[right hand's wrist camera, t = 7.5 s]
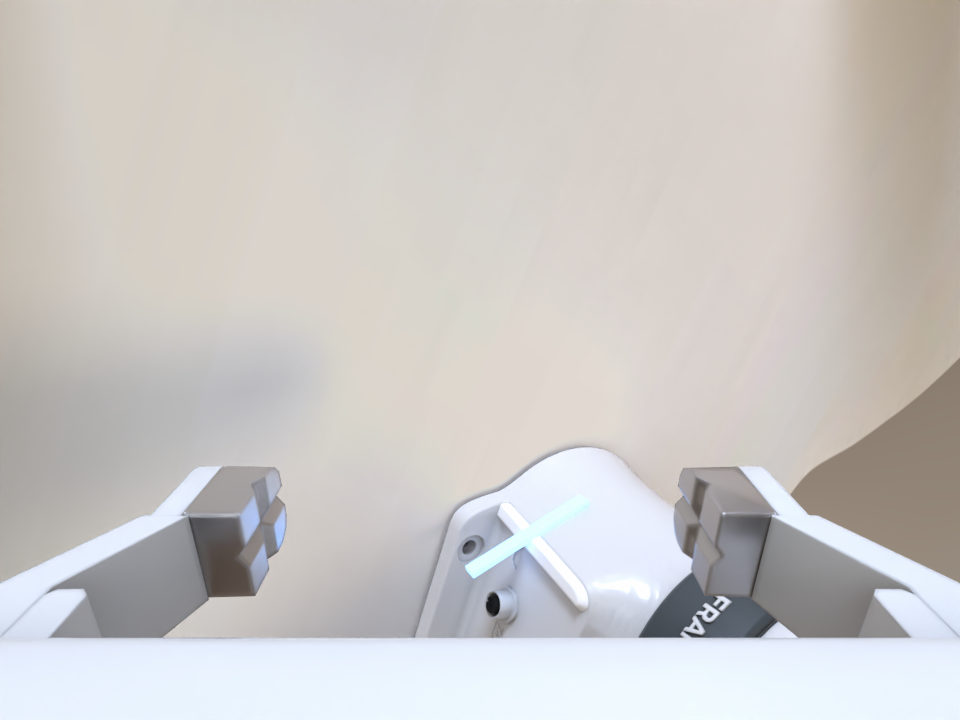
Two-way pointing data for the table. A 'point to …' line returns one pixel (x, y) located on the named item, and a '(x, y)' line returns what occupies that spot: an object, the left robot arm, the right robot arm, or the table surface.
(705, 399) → the table surface
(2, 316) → the table surface
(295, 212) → the table surface
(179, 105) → the table surface
